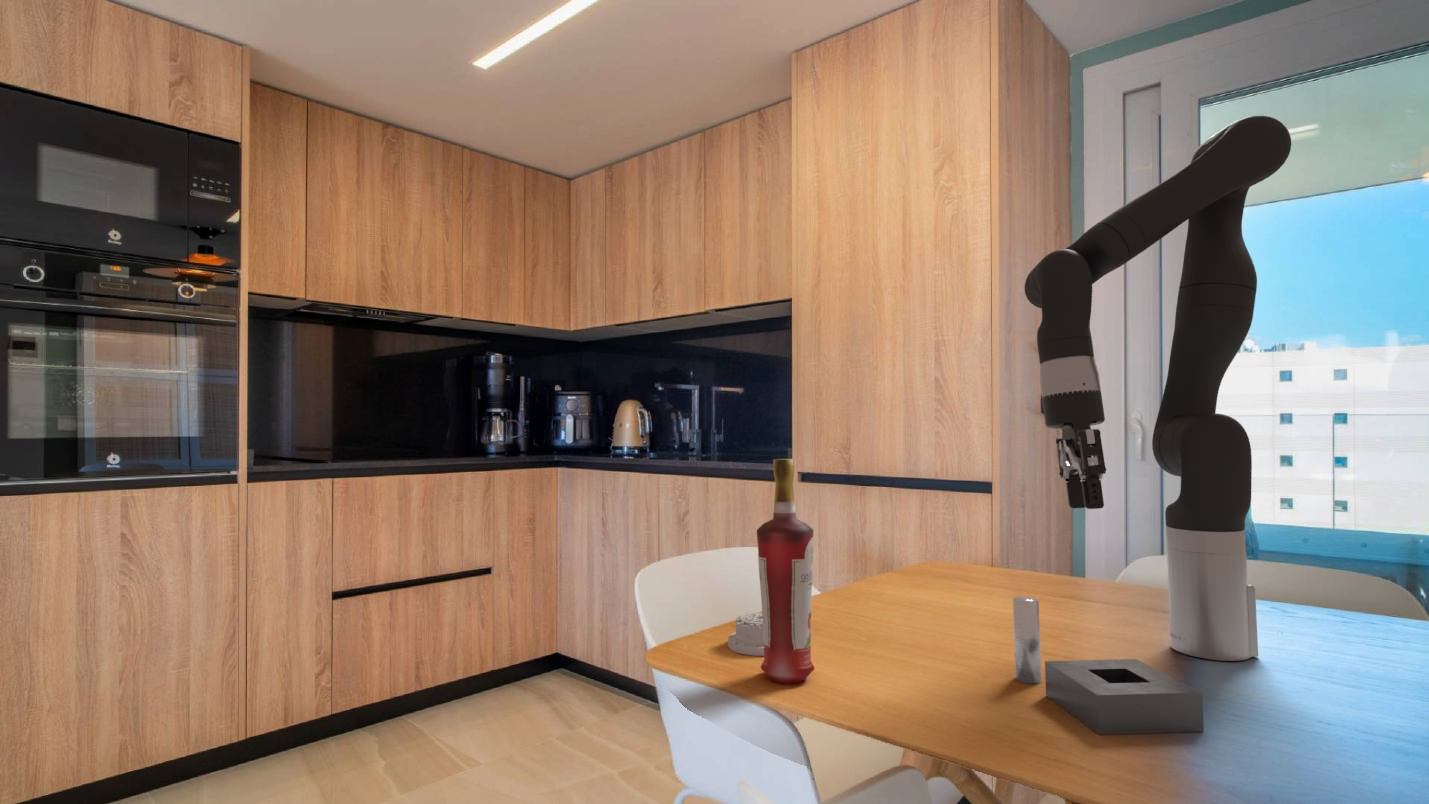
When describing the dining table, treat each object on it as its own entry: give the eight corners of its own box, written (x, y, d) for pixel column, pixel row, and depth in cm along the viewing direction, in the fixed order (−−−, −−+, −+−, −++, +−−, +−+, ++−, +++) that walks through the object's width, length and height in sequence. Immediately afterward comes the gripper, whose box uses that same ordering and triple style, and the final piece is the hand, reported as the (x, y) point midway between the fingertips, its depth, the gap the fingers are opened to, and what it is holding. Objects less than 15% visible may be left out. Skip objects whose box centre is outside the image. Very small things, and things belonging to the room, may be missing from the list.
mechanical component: (722, 656, 102) (792, 659, 100) (721, 625, 102) (791, 627, 100) (734, 636, 112) (798, 639, 110) (733, 608, 112) (797, 610, 110)
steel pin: (1034, 675, 92) (1031, 596, 92) (1046, 683, 89) (1043, 601, 89) (1011, 675, 91) (1008, 596, 92) (1022, 684, 88) (1019, 602, 89)
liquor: (768, 665, 97) (764, 458, 98) (821, 671, 94) (817, 458, 95) (751, 683, 90) (748, 460, 91) (808, 690, 87) (804, 460, 89)
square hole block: (1137, 693, 85) (1136, 658, 85) (1203, 731, 74) (1201, 692, 74) (1046, 695, 84) (1044, 661, 85) (1098, 734, 73) (1097, 695, 74)
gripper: (1115, 382, 93) (1132, 507, 91) (1086, 397, 107) (1100, 506, 105) (1053, 387, 95) (1069, 510, 93) (1032, 401, 109) (1045, 509, 106)
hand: (1085, 508), depth 99 cm, fingers open, 8 cm apart
